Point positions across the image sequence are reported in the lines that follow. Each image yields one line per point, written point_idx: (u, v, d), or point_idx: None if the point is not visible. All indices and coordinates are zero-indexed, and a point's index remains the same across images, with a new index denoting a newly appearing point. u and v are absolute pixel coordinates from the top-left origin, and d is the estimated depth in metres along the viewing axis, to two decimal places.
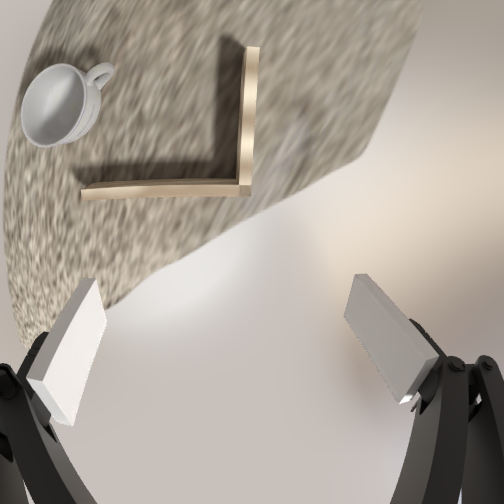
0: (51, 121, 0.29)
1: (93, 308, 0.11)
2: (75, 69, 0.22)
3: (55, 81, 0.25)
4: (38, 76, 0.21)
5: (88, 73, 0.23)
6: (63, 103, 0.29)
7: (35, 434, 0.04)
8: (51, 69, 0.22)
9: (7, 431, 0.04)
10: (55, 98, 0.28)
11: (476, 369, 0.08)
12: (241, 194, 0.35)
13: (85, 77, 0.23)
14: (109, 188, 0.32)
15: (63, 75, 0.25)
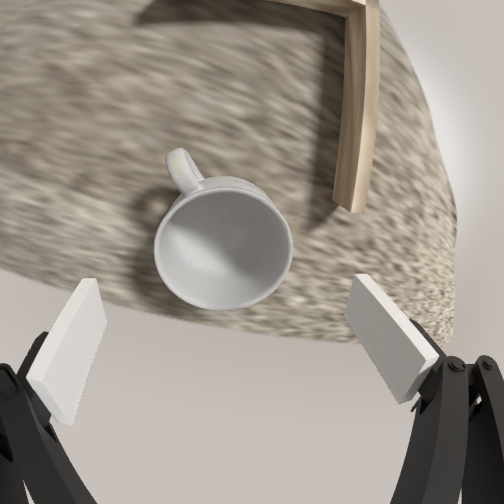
0: (235, 260, 0.29)
1: (93, 308, 0.11)
2: (170, 212, 0.20)
3: (177, 257, 0.26)
4: (168, 283, 0.22)
5: (182, 187, 0.19)
6: (211, 242, 0.28)
7: (35, 434, 0.04)
8: (161, 260, 0.22)
9: (6, 431, 0.04)
10: (201, 256, 0.28)
11: (476, 369, 0.08)
12: (376, 6, 0.16)
13: (188, 193, 0.20)
14: (358, 168, 0.23)
15: (170, 242, 0.25)
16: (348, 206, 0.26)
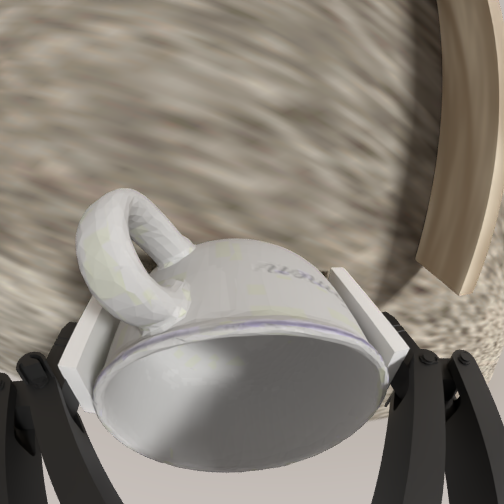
0: (255, 369, 0.16)
1: None
2: (111, 372, 0.07)
3: (154, 379, 0.13)
4: (141, 450, 0.09)
5: (127, 319, 0.06)
6: (213, 344, 0.15)
7: (64, 425, 0.05)
8: (118, 423, 0.09)
9: (33, 419, 0.05)
10: (197, 364, 0.15)
11: (452, 365, 0.08)
12: None
13: (147, 328, 0.07)
14: (483, 222, 0.10)
15: (137, 362, 0.12)
16: (453, 283, 0.13)
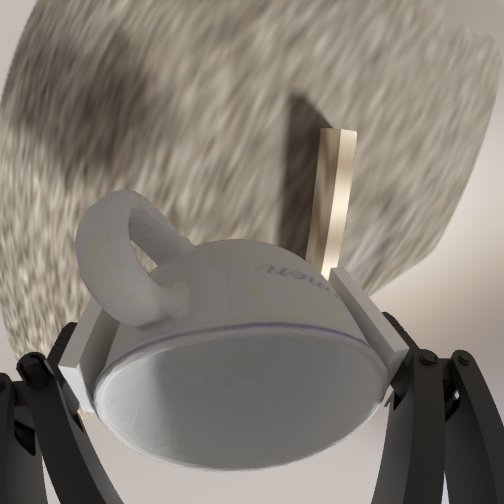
0: (255, 369, 0.16)
1: None
2: (111, 373, 0.07)
3: (154, 379, 0.13)
4: (141, 450, 0.09)
5: (127, 320, 0.06)
6: (213, 344, 0.15)
7: (65, 425, 0.05)
8: (118, 423, 0.09)
9: (33, 419, 0.05)
10: (197, 365, 0.15)
11: (451, 365, 0.08)
12: None
13: (147, 329, 0.07)
14: None
15: (137, 363, 0.12)
16: None
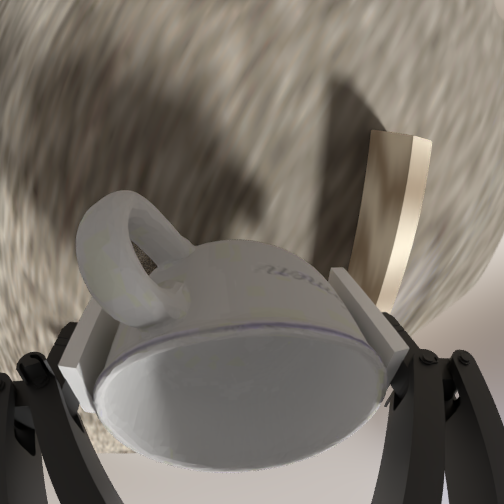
0: (255, 370, 0.16)
1: None
2: (111, 373, 0.07)
3: (154, 379, 0.13)
4: (141, 450, 0.09)
5: (127, 320, 0.06)
6: (213, 344, 0.15)
7: (65, 425, 0.05)
8: (118, 423, 0.09)
9: (33, 420, 0.05)
10: (197, 365, 0.15)
11: (452, 365, 0.08)
12: None
13: (147, 329, 0.07)
14: None
15: (137, 363, 0.12)
16: None
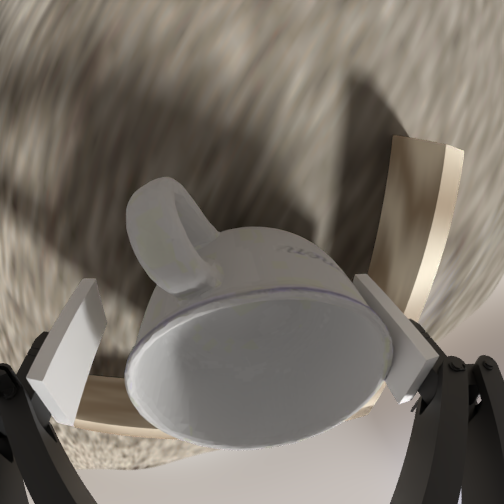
0: (268, 352, 0.17)
1: (93, 308, 0.11)
2: (149, 340, 0.08)
3: (174, 360, 0.14)
4: (163, 426, 0.11)
5: (171, 287, 0.08)
6: (230, 328, 0.17)
7: (35, 434, 0.04)
8: (144, 398, 0.10)
9: (6, 431, 0.04)
10: (213, 348, 0.17)
11: (476, 369, 0.08)
12: (356, 416, 0.18)
13: (186, 297, 0.08)
14: (120, 425, 0.15)
15: (159, 343, 0.13)
16: None
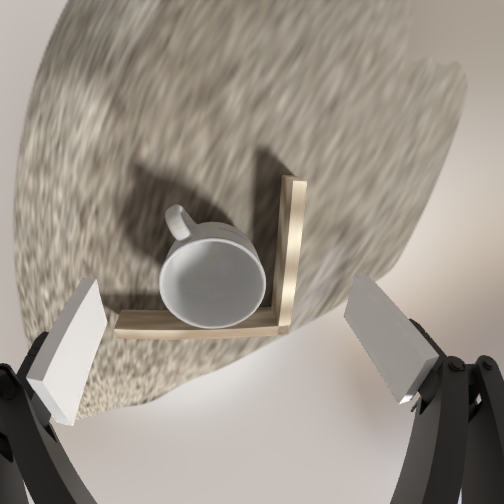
0: (224, 287, 0.35)
1: (93, 308, 0.11)
2: (170, 256, 0.26)
3: (177, 285, 0.32)
4: (170, 308, 0.28)
5: (179, 237, 0.26)
6: (204, 272, 0.34)
7: (35, 434, 0.04)
8: (164, 291, 0.28)
9: (7, 431, 0.04)
10: (196, 283, 0.35)
11: (476, 369, 0.08)
12: (280, 333, 0.35)
13: (183, 241, 0.26)
14: (145, 330, 0.32)
15: (171, 275, 0.31)
16: (118, 326, 0.32)
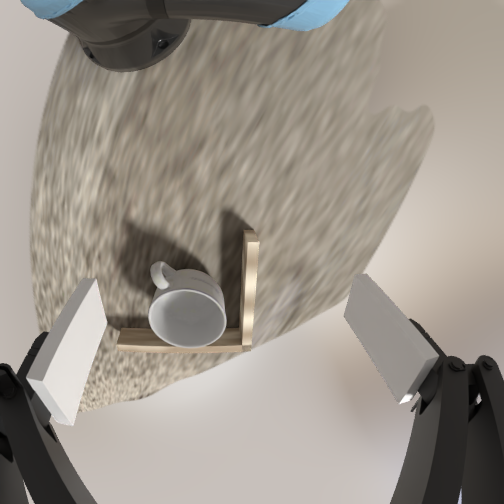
0: (200, 314, 0.44)
1: (93, 308, 0.11)
2: (155, 300, 0.35)
3: (163, 314, 0.41)
4: (157, 333, 0.38)
5: (161, 288, 0.34)
6: (184, 303, 0.44)
7: (35, 434, 0.04)
8: (152, 321, 0.37)
9: (6, 431, 0.04)
10: (178, 311, 0.44)
11: (476, 369, 0.08)
12: (244, 350, 0.45)
13: (164, 290, 0.35)
14: (140, 346, 0.42)
15: (158, 307, 0.40)
16: (119, 342, 0.42)
